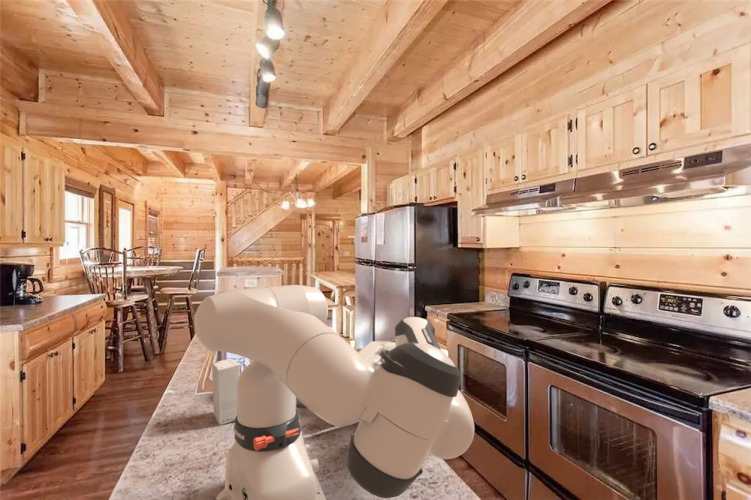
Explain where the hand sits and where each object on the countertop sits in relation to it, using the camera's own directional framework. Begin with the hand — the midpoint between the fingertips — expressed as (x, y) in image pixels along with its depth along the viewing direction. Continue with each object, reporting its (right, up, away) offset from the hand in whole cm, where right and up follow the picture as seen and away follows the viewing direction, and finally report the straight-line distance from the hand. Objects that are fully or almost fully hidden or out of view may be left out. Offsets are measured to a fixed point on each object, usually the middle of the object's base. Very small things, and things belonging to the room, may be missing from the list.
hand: (344, 354), depth 109 cm
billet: (+1, -8, 0) cm, 8 cm away
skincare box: (-32, -16, -6) cm, 36 cm away
